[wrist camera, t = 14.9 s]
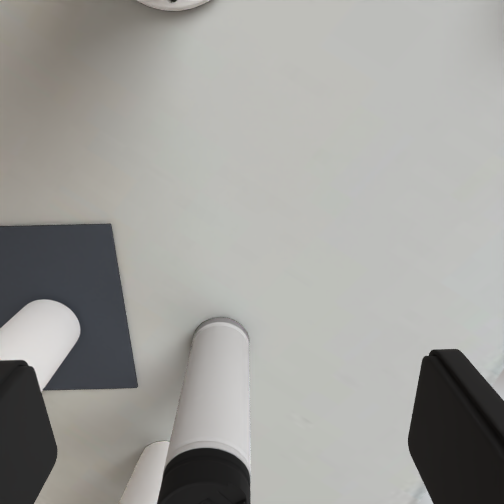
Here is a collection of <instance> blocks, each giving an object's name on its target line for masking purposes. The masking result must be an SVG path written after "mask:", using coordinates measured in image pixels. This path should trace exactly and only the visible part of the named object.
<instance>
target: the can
mask: <svg viewBox="0 0 504 504" xmlns="http://www.w3.org/2000/svg"><path fill="white" fill-rule="evenodd" d="M79 336H80V324H79V321H78V319H77V317H76V315H75V314H74V313H73V311H72V310H71V309H69V308H68V307H67V306H65V305H64V304H62V303H59V302H57V301H53V300H46V299H42V300H36V301H33V302H30V303H29V304H27V305H26V306H24V307H23V308H22V309H21V310H20V311H19V312H18V313H17V314H15V315H14V316H13V317H12V318H11V319H10V320H9V321H8V322H7V323H6V324H5V325H3V326H2V327H1V328H0V360H24V361H26V362H27V363H28V366H32V367H33V368H34V370H35V372H36V376H37V379H38V383H39V386H40V390H41V392H42V390H43V389H44V387H45V386H46V385H47V383H48V382H49V380H50V379H51V378H52V376H53V375H54V373H55V372H56V370H57V369H58V368H59V366H60V365H61V363H62V362H63V361H64V359H65V358H66V356H67V355H68V353H69V352H70V351H71V349H72V348H73V346H74V345H75V343H76V342H77V340H78V338H79Z"/></svg>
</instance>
